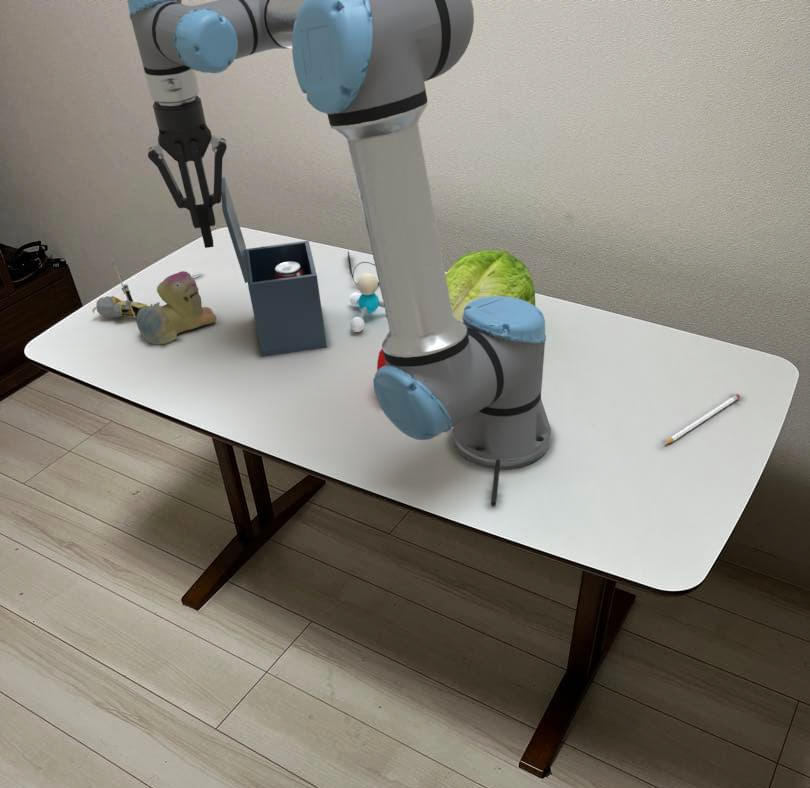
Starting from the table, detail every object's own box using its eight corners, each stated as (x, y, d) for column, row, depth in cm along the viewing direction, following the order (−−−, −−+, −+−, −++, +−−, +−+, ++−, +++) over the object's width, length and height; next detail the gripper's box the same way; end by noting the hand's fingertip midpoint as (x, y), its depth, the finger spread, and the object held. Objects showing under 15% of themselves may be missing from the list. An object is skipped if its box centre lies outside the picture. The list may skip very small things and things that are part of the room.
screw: (162, 285, 179) (164, 288, 179) (162, 284, 179) (164, 286, 179) (198, 275, 182) (199, 278, 182) (198, 274, 182) (199, 276, 182)
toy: (174, 246, 175) (105, 240, 177) (141, 318, 163) (67, 311, 165) (180, 268, 180) (113, 262, 181) (148, 339, 168) (76, 333, 169)
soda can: (314, 320, 164) (306, 261, 156) (304, 333, 160) (295, 274, 152) (290, 317, 165) (280, 259, 157) (279, 331, 162) (268, 272, 153)
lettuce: (397, 357, 155) (396, 294, 143) (469, 287, 166) (474, 223, 155) (475, 396, 149) (480, 333, 138) (544, 321, 161) (555, 257, 149)
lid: (224, 176, 148) (220, 178, 148) (227, 209, 138) (222, 211, 138) (245, 246, 157) (241, 247, 157) (249, 282, 147) (245, 283, 147)
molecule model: (335, 307, 168) (330, 265, 162) (392, 294, 171) (389, 253, 165) (353, 336, 160) (348, 293, 154) (412, 322, 162) (409, 279, 156)
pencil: (739, 398, 139) (740, 395, 138) (666, 447, 131) (666, 443, 130) (735, 396, 139) (736, 393, 139) (661, 444, 131) (662, 441, 131)
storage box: (318, 309, 169) (308, 240, 159) (326, 347, 158) (316, 275, 148) (257, 318, 167) (244, 249, 158) (262, 356, 157) (247, 285, 147)
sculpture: (159, 351, 160) (142, 302, 153) (136, 338, 165) (118, 290, 158) (222, 318, 167) (208, 271, 160) (197, 307, 172) (183, 260, 165)
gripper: (132, 111, 129) (171, 258, 145) (218, 100, 130) (247, 248, 146) (134, 96, 134) (172, 240, 150) (217, 86, 135) (245, 230, 152)
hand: (209, 244), depth 148 cm, fingers closed
